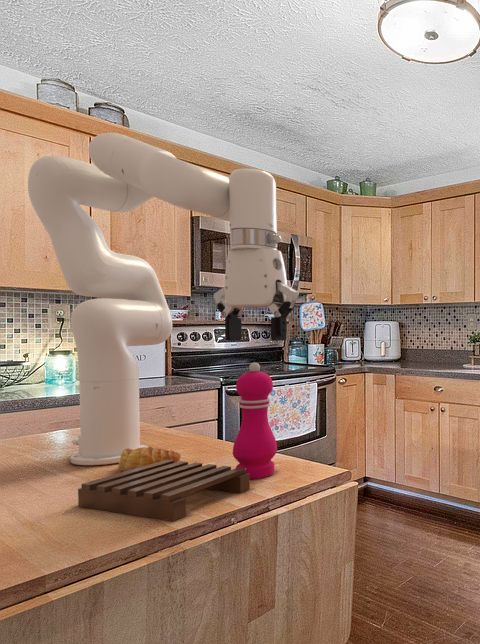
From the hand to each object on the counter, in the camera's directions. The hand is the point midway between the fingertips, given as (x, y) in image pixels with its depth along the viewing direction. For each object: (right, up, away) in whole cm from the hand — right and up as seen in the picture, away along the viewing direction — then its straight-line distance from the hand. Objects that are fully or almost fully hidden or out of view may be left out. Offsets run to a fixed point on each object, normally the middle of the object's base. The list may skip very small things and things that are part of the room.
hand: (256, 340), depth 88 cm
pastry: (-22, -24, +5) cm, 33 cm away
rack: (-8, -24, -11) cm, 28 cm away
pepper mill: (-1, -24, +1) cm, 24 cm away
